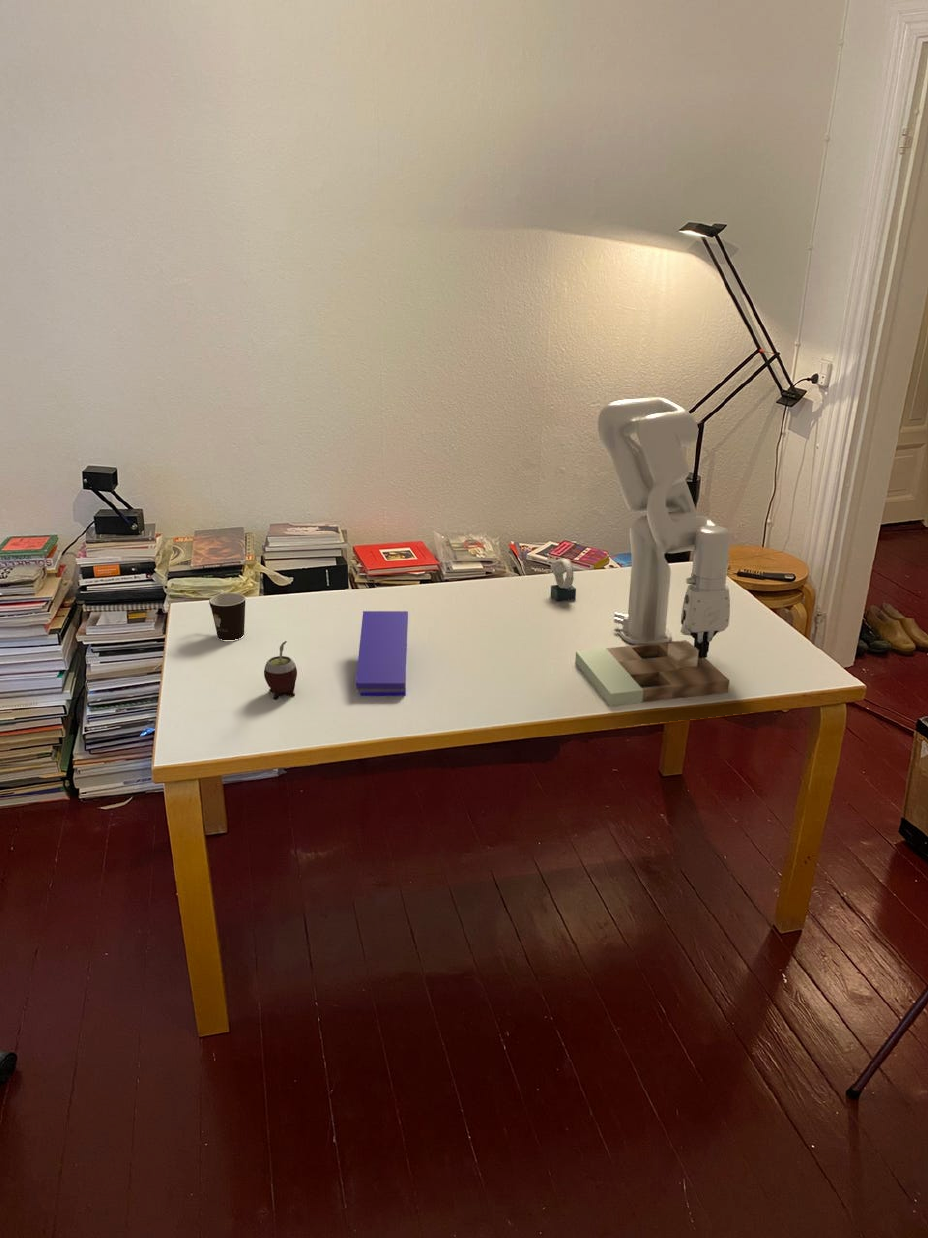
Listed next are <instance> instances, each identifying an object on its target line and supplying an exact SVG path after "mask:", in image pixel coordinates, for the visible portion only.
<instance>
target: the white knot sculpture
mask: <svg viewBox="0 0 928 1238" xmlns="http://www.w3.org/2000/svg"><path fill="white" fill-rule="evenodd" d="M550 569H552V574H553V576H554V580H555V583H556V584H554V585H552V584H551V585H550V597H551V598H552V599H553V600H554V601H555V602H556V603H557V602H559V603H560V602H567V601H573V600H574V601H575V600H576V597H577V588H576V587H574V586H573V583H574V579H575V578H574V567H573V564H572V561H571V560H570V559H569V558H564V557H563V558H559V559H556V560H555V561H554V562H553V563H552V564H551V566H550ZM564 574H566V575H565V578H564Z"/></svg>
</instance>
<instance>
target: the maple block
mask: <svg viewBox="0 0 928 1238" xmlns="http://www.w3.org/2000/svg"><path fill="white" fill-rule="evenodd" d="M698 652H699V650H698V649H697V648H695V647H694V644H692V643H691V642H690V641H687V642H679V643H671V644H668V653H667V660H668V661H669V662H670V663H671V664H672V665H673V666H675V667H676V668H677V669H679V668H687V667H695V666H697V661H698Z"/></svg>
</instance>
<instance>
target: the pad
mask: <svg viewBox="0 0 928 1238" xmlns="http://www.w3.org/2000/svg"><path fill="white" fill-rule="evenodd" d="M606 648H607V647H606ZM606 648H597V649H596V648H595V649H588V650H586V649H585V650H578V651H575V659H574V660H575V665H576V666H577V667H578V669H579V670H580V671H581V672H582V673H583V674H584V676H585V677H586V678H587V680H588V681H589V682H590V683H591V684H592V686H593V687H594V688H595V690H596V691H597V692H598V693H599V694H600V696H601V697H602V698H603V699H604V700H605V702H606V703H607V704H608V706H610V707H614V706H623V705H628V704H629V705H632V704H640V703H643V702H642V700H643V689H642V688H641V687H640V686H639V685H638V684H637V682H636V681H635V680H634V679H633V678H632V677H631V676H630V675H629V673H628V672H627V671H626V670H625V669H624V668H623V667H622V666H621V665H620V663H619V662H618V661H617V660H616V659H615V658H614V657H613V656H612V655H611V653H610V652H609V651H608V650H607V649H606Z"/></svg>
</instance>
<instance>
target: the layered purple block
mask: <svg viewBox="0 0 928 1238" xmlns="http://www.w3.org/2000/svg"><path fill="white" fill-rule="evenodd" d="M408 624H409V611H407V610H406V611H399V610H398V611H396V610H395V611H394V610H393V611H392V610H391V611H390V610H389V611H388V610H387V611H385V610H384V611H383V610H381V611H380V610H371V611H370V610H367V611H365V610H362V618H361V628H360V638H359V648H358V657H357V666H356V677H355V690H359V691H360V697H389V696H390V697H392V696H393V697H394V696H395V697H396V696H397V697H398V696H399V697H401V696H405V697H406V696H407V692H406V691H407V680H406V679H407V651H408V649H407V645H408V627H409V626H408Z"/></svg>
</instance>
